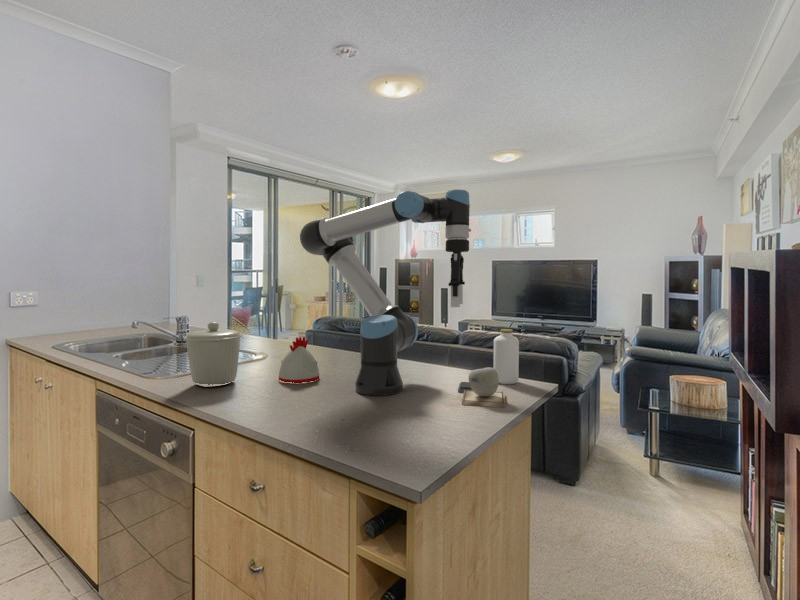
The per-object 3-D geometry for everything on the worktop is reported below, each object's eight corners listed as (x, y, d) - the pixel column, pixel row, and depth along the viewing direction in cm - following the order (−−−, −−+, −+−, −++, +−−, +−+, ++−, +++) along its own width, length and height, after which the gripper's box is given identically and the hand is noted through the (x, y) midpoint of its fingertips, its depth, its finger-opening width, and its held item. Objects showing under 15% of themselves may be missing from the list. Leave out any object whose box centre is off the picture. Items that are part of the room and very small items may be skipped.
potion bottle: (519, 385, 148) (519, 331, 147) (493, 384, 150) (493, 331, 149) (517, 379, 156) (518, 328, 155) (493, 378, 158) (493, 328, 157)
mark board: (461, 404, 127) (461, 400, 127) (464, 393, 139) (464, 389, 139) (505, 406, 125) (505, 403, 125) (504, 395, 137) (504, 391, 137)
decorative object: (496, 401, 126) (496, 366, 126) (465, 398, 130) (465, 364, 129) (500, 393, 135) (501, 361, 134) (471, 391, 138) (472, 359, 137)
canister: (249, 386, 148) (248, 322, 147) (190, 394, 138) (188, 326, 137) (235, 375, 163) (234, 318, 162) (181, 382, 153) (179, 321, 152)
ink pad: (458, 392, 140) (458, 387, 140) (459, 385, 148) (459, 381, 148) (490, 393, 138) (490, 389, 138) (490, 387, 146) (490, 382, 146)
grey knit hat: (327, 378, 160) (327, 336, 159) (299, 386, 148) (298, 341, 147) (299, 373, 167) (298, 333, 166) (270, 381, 155) (269, 338, 155)
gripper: (467, 236, 131) (466, 308, 132) (471, 241, 155) (470, 303, 156) (441, 236, 132) (441, 308, 133) (449, 242, 156) (448, 302, 158)
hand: (456, 305), depth 145 cm, fingers open, 13 cm apart
